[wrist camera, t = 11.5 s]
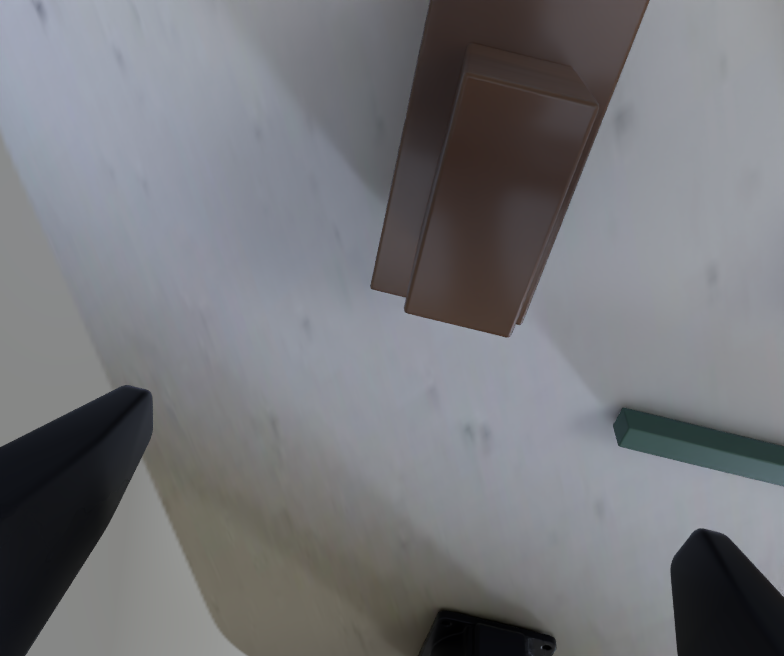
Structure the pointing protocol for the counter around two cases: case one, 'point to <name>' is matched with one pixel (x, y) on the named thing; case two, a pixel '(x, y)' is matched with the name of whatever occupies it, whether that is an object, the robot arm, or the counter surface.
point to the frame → (700, 446)
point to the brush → (496, 150)
